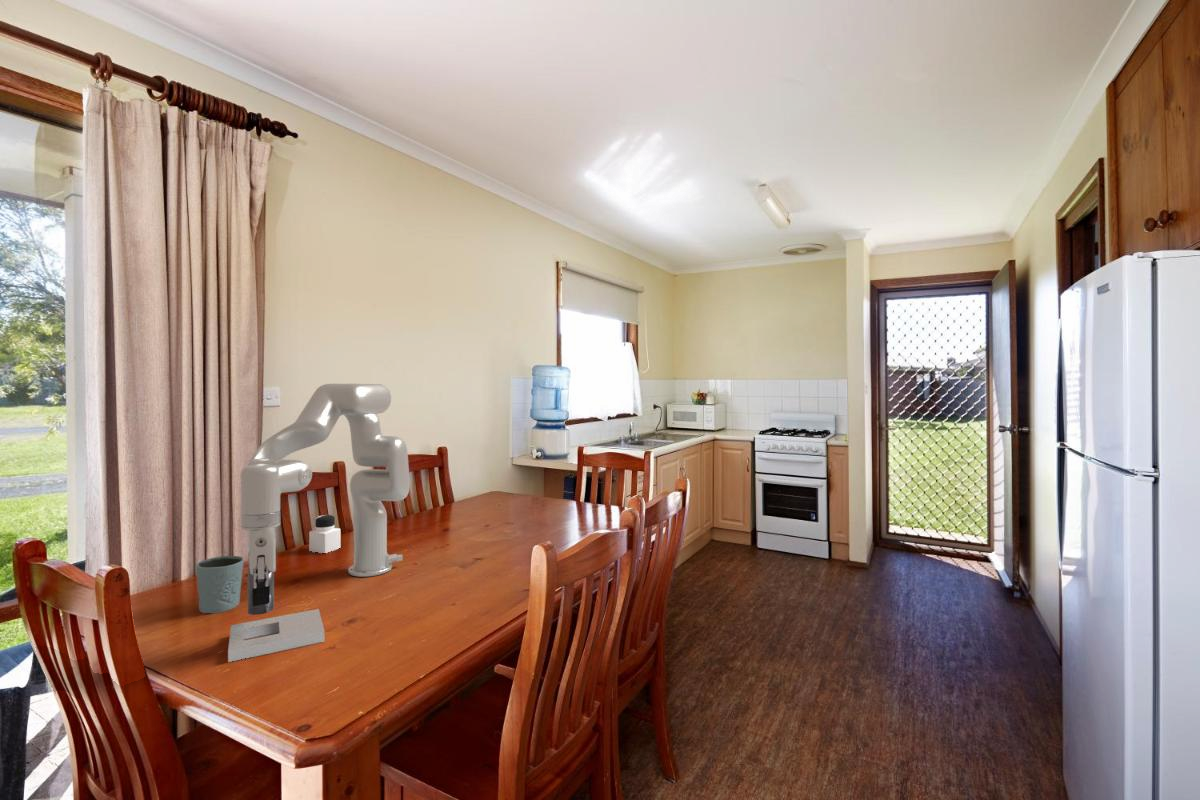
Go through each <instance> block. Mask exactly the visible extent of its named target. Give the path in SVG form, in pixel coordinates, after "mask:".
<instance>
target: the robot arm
mask: <svg viewBox="0 0 1200 800" xmlns="http://www.w3.org/2000/svg"><path fill="white" fill-rule="evenodd" d="M391 402H392V395H391V391H390V389H389V388H388V387H387V385H383V384H380V383H325V384H322V385H320V386H319V387H317V388H316V390H315V391H314V392H313V394H312V396H311V397H310V398H309V400H308V402H307V403H306V405H305V406H304V408H303V410H302V411H301V412H300V414H299V415H298V417H297V419H296V420H295V421H294V422H293V423H292V424H290V425H288V426H286V427H284V428H282V429H281V430H279V431H278V432H276V433H275V434H273V435H271V436H269V438H267V439H266V440H265V441H263V442H262V443H261V444H260V445H259V446H258V447H257V449H256V450H255V452H254V453H253V455H252V457H251V458H250V460H249V461H248V463H247V465H246V466H244V467H243V468H242V470H241V472H240V529H241V530H244V531H247V557H248V559H247V560H248V567H249V568H250V574H251V575H253V573H254V575H253V576H254V588H252V605H253V606H259V605H265V604H269V602H270V585H268V570H269V571H272V572H274V573H275V572H276V571H277V567H276V566H277V564H276V563H277V561H276V560H277V556H276V555H277V553H276V552H277V539H276V538H277V537H276V527H280V525H281V494H282V493H284V494H285V493H293V492H299V491H301V490H303V489H305V488H306V487H307V486H309V484H310V482H311V481H312V477H313V470H312V467H311V466H310V464H308V463H307V462H305V461H302V460H300V459H284V458H286V457H288V456H289V455H291V454H292V453H295V452H298V451H301V450H304V449H307V448H311V447H313V446H316V445H319V444H321V443H323V442H325V441H326V440H327V439H328V438H329V436H330V434H331V432H332V430H334V426H335V425H336V424H337V422H338V420H339V419H340V417H341V416H344V417H345V418H346V420H347V422H348V424H349V425H348V426H349V430H350V440H351V441H350V442H351V449H352V451H351V452H352V457H353V461H354V463H355V464H356V465H357V466H361V467H367V468H368V467H370V468H369V469H361V470H359V471H357V472H355V473H354V474H352V476H351V478H350V482H349V488H350V494H351V498H352V505H353V507H352V508H353V564H352V565H351V566H349V568H348V570H347V571H348V572H347V573H348V574H349V575H351V576H354V577H362V578H363V577H366V578H367V577H374V576H375V577H376V576H379V575H383V574H386V573H387V572H390V571H391V569H392V568H393V562H402V561H403V554H397V553H393V554H389V553H388V550H387V549H388V548H387V547H388V543H387V542H388V541H387V540H388V539H387V538H388V535H387V534H388V532H387V531H388V530H387V528H388V526H387V525H388V517H387V516H388V514H387V510H386V508H385V505H384V504H383V502H384V501H385V502H400V501H403V500H404V499H406V498H407V497H408V495H409V492H410V487H411V483H410V481H411V480H410V468H409V456H408V455H409V454H408V448H407V444H406V443H405V441H404V440H403V438H401V437H399V436H393V435H383V434H382V432H381V423H380V418H379V416H378V414H383V413H385V412H386V411H387V410H388V409H389V408H390V406H391ZM371 468H375V469H371ZM376 468H386V469H376ZM253 569H254V570H253ZM264 569H266V572H264ZM257 570H258V573H256V571H257ZM264 575H266V577H264ZM256 576H258V578H257V579H256ZM265 582H266V584H265ZM256 583H257V585H256ZM265 585H266V586H265ZM256 586H257V587H256Z"/></svg>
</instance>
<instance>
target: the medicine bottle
mask: <svg viewBox="0 0 1200 800" xmlns="http://www.w3.org/2000/svg"><path fill="white" fill-rule="evenodd" d="M335 519H336V518H335V516H333V515H332V514H325V515H319V516H317V517H316V518H315V520H314V523H315V524H314V525H315V526H314V530H310V531H309V533H308V535H309V536H308V538H309V539H308V543H309V544H308V547H309V548H308V551H309V552H310V551H312V552H311V553H315V552H318V553H317V554H322V553H326V554H328V552H329V553H331V551H332V552H334V551H337V550H339V548H340V549H341V546H342V545H341V542H342V541H341V539H342V538H341V534H342V533H341V528H338V527H335V525H336V523H335Z"/></svg>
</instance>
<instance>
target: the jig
mask: <svg viewBox="0 0 1200 800" xmlns="http://www.w3.org/2000/svg"><path fill="white" fill-rule="evenodd" d="M229 633H230V634H229V640H228V649H227V663H231V662H232V661H233V662H237V661H242V660H246V659H249V658H250V657H251V658H257V657H260V656H264V655H269V654H275V653H279V652H282V651H287V650H292V649H296V648H301V647H306V646H311V645H315V644H319V643H324V642H325V628H324V624H323V620H322V616H321V613H320V608H315V609H312V610H305V611H300V612H296V613H290V614H288V613H287V614H284V615H278V616H273V617H267V618H263V619H258V620H252V621H247V622H241V623H237V624H236V623H235V624H231V625H230V632H229ZM245 658H246V659H245ZM251 658H250V659H251ZM241 659H242V660H241ZM233 662H232V663H233Z"/></svg>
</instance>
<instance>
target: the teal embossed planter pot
mask: <svg viewBox="0 0 1200 800" xmlns="http://www.w3.org/2000/svg"><path fill="white" fill-rule="evenodd" d="M244 562H245V559H244V557H242V556H239V555H221V556H216V557H210V558H207V559H204V560H201V561H199V562H198V563H196V565H195V567H196V579H197V583H196V584H197V593H198V594H197V595H198V600H199V601H198V609H199V612H200V613H201V612H202V613H201V614H204V613H214V614H219V613H218V612H221V613H224V612H223V611H225V612H227V610H228V611H230V609H231V610H233V609H235V608H237V607H238V606H239V604H240V602H241V601H240V599H241V588H242V580H243V579H242V578H243V568H244ZM237 605H238V606H237ZM236 606H237V607H236ZM234 607H235V608H234ZM232 608H233V609H232Z"/></svg>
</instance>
